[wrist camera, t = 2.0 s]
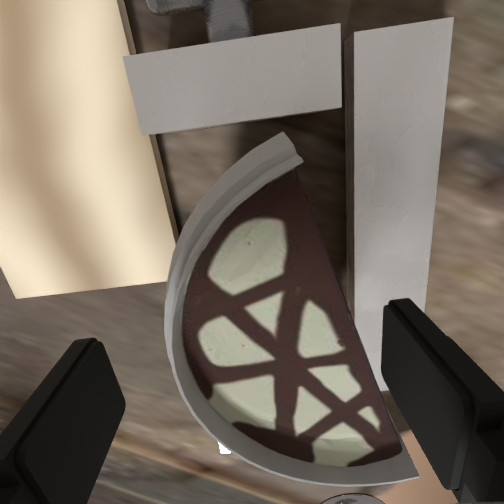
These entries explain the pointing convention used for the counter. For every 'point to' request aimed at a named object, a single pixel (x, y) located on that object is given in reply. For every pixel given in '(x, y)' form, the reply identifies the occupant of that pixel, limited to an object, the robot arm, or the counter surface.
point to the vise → (316, 100)
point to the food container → (274, 334)
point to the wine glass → (353, 499)
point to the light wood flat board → (76, 154)
